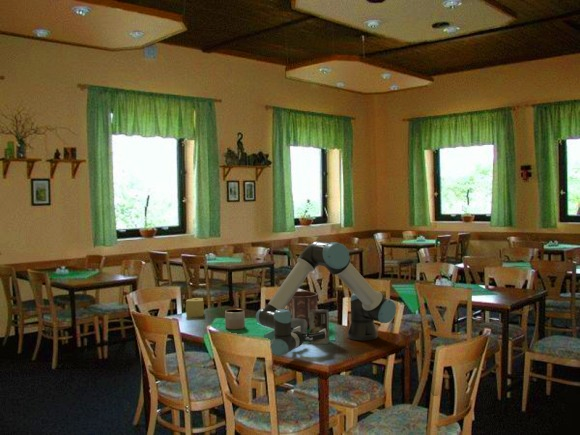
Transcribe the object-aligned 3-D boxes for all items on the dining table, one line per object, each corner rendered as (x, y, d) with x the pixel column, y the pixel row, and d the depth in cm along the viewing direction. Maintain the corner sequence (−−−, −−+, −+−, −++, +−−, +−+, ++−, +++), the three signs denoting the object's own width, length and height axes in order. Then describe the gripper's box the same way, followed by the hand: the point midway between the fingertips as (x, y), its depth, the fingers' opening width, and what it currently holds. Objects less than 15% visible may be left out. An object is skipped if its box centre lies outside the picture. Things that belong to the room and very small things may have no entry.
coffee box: (329, 341, 309) (329, 309, 308) (327, 344, 303) (327, 312, 302) (311, 340, 311) (311, 308, 310) (309, 343, 305) (308, 311, 304)
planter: (241, 330, 335) (241, 313, 334) (222, 329, 337) (222, 312, 336) (247, 325, 345) (246, 308, 345) (228, 325, 348) (228, 308, 347)
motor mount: (310, 335, 320) (310, 314, 319) (289, 347, 299) (289, 323, 298) (278, 332, 329) (278, 311, 328) (256, 343, 307) (255, 320, 307)
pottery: (307, 320, 356) (306, 289, 355) (324, 326, 340) (323, 294, 339) (280, 324, 347) (279, 293, 346) (296, 331, 332) (295, 298, 330)
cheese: (186, 314, 380) (186, 298, 379) (204, 313, 381) (204, 297, 381) (186, 317, 370) (185, 301, 369) (204, 316, 371) (203, 300, 370)
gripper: (269, 345, 287) (289, 335, 306) (317, 351, 275) (336, 340, 294) (268, 329, 286) (289, 320, 305) (317, 334, 275) (335, 324, 294)
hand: (312, 330), depth 300 cm, fingers open, 13 cm apart
